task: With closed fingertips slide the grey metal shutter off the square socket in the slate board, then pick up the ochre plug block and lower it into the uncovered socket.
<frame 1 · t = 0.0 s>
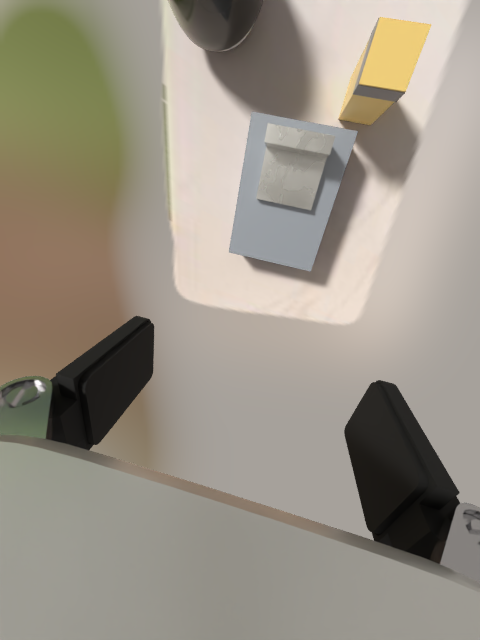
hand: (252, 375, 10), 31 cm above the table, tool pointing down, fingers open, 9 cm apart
socket board: (285, 200, 35), on the table
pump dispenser: (225, 7, 27), on the table
shutter: (291, 171, 27), point 7 cm above the table, slide at 0.0 cm
plug: (361, 101, 29), on the table
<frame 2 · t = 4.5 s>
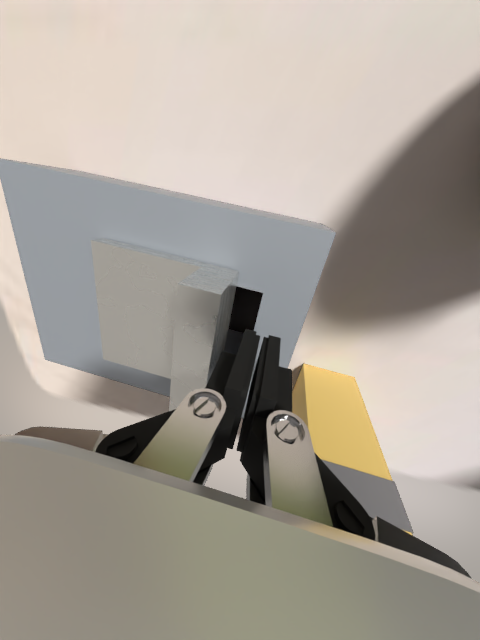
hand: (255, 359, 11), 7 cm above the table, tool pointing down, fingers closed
socket board: (187, 285, 18), on the table
shutter: (150, 331, 12), point 7 cm above the table, slide at 2.1 cm, touching gripper
plug: (320, 389, 19), on the table
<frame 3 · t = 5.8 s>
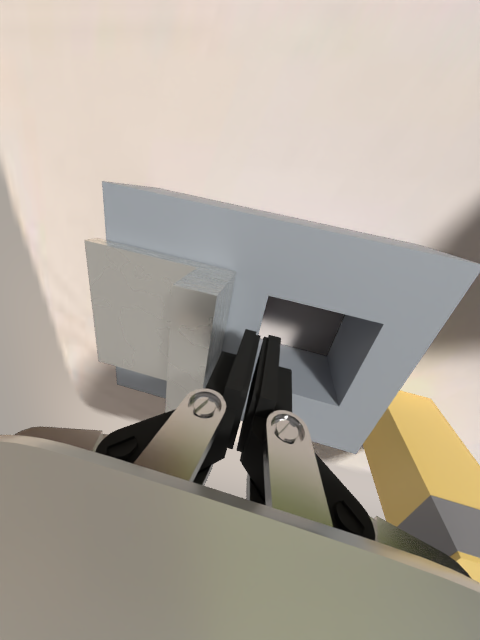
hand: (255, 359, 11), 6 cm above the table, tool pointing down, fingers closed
socket board: (260, 305, 17), on the table
shutter: (146, 333, 11), point 7 cm above the table, slide at 7.9 cm, touching gripper
plug: (390, 409, 19), on the table
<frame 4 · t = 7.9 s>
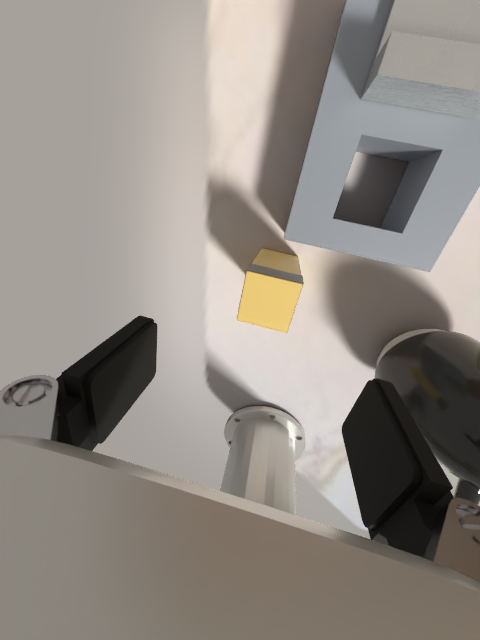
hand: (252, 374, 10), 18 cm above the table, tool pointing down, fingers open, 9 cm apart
socket board: (378, 151, 20), on the table
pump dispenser: (411, 354, 28), on the table
shutter: (467, 9, 12), point 7 cm above the table, slide at 7.9 cm
plug: (274, 270, 26), on the table
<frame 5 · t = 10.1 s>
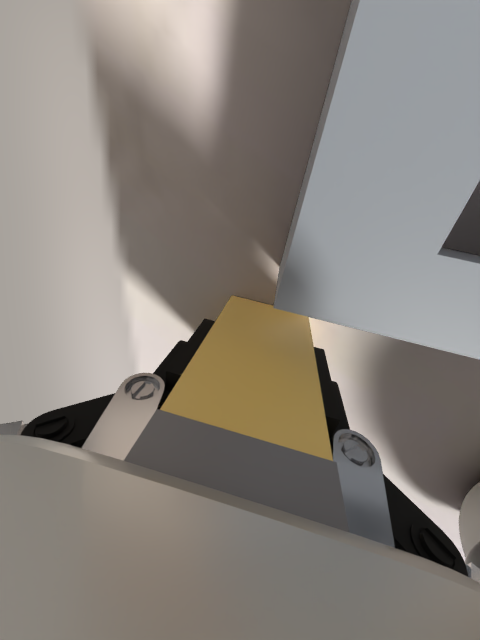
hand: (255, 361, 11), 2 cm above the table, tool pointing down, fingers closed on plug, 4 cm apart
plug: (260, 337, 13), on the table, touching gripper
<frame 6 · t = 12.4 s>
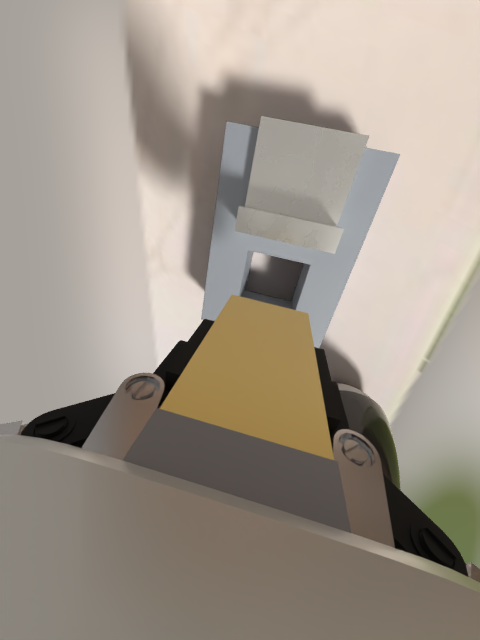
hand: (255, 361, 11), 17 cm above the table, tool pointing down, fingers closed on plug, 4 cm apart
socket board: (281, 245, 24), on the table
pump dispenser: (333, 400, 32), on the table
shutter: (298, 186, 16), point 7 cm above the table, slide at 7.9 cm
plug: (260, 336, 13), point 14 cm above the table, touching gripper
when the fingers open (6 cm above the table, at t = 14.6 s): plug drops 3 cm, resting in socket board.
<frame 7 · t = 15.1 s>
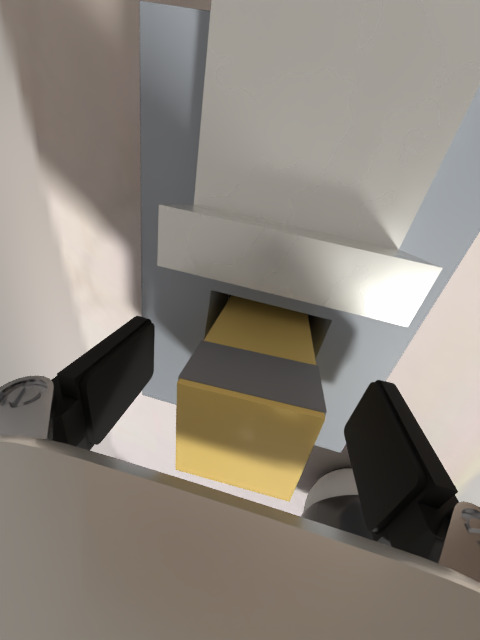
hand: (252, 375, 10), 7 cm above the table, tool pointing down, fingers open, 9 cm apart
socket board: (277, 269, 15), on the table
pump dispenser: (353, 484, 22), on the table
shutter: (313, 154, 6), point 7 cm above the table, slide at 7.9 cm
plug: (266, 313, 16), resting in socket board
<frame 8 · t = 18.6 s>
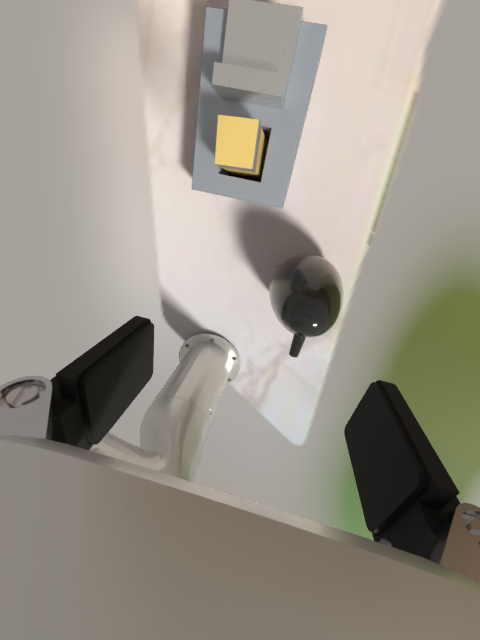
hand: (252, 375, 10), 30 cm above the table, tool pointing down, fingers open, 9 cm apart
socket board: (254, 131, 31), on the table
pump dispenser: (302, 282, 39), on the table
shutter: (256, 49, 23), point 7 cm above the table, slide at 7.9 cm
plug: (250, 159, 32), resting in socket board
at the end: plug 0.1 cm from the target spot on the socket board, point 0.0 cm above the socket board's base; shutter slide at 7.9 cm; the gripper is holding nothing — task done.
